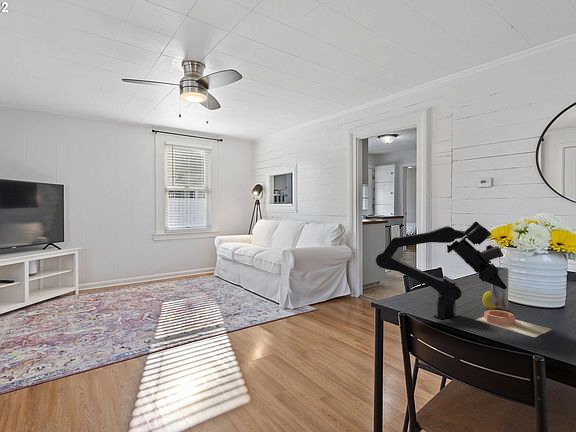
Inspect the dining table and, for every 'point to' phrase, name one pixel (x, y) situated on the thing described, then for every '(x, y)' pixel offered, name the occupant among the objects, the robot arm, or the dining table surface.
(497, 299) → the steel sleeve
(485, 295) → the lemon
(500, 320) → the ring
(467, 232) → the robot arm
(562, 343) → the dining table surface
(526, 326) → the birch board
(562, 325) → the dining table surface
